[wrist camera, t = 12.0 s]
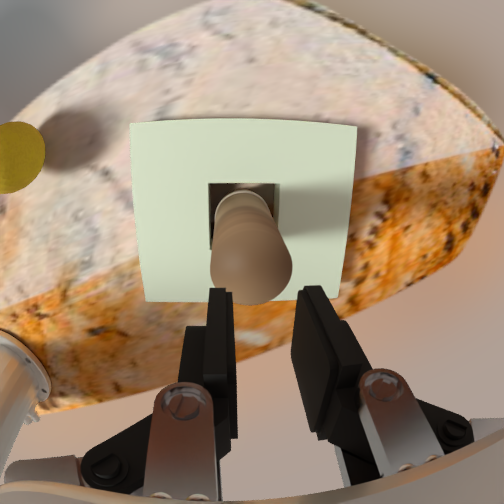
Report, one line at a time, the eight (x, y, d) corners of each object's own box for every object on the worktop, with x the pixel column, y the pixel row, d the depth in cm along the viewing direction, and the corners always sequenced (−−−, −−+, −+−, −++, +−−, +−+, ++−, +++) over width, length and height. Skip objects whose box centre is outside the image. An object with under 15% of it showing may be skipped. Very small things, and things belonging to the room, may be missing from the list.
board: (329, 283, 28) (337, 297, 25) (151, 286, 26) (146, 301, 24) (344, 126, 22) (357, 126, 20) (139, 123, 21) (129, 123, 18)
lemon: (18, 184, 21) (-38, 209, 14) (14, 126, 19) (-45, 135, 12) (63, 177, 22) (9, 202, 14) (60, 114, 20) (2, 116, 12)
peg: (264, 231, 25) (290, 304, 15) (216, 231, 25) (210, 306, 15) (266, 184, 24) (296, 229, 13) (215, 183, 23) (207, 230, 13)
